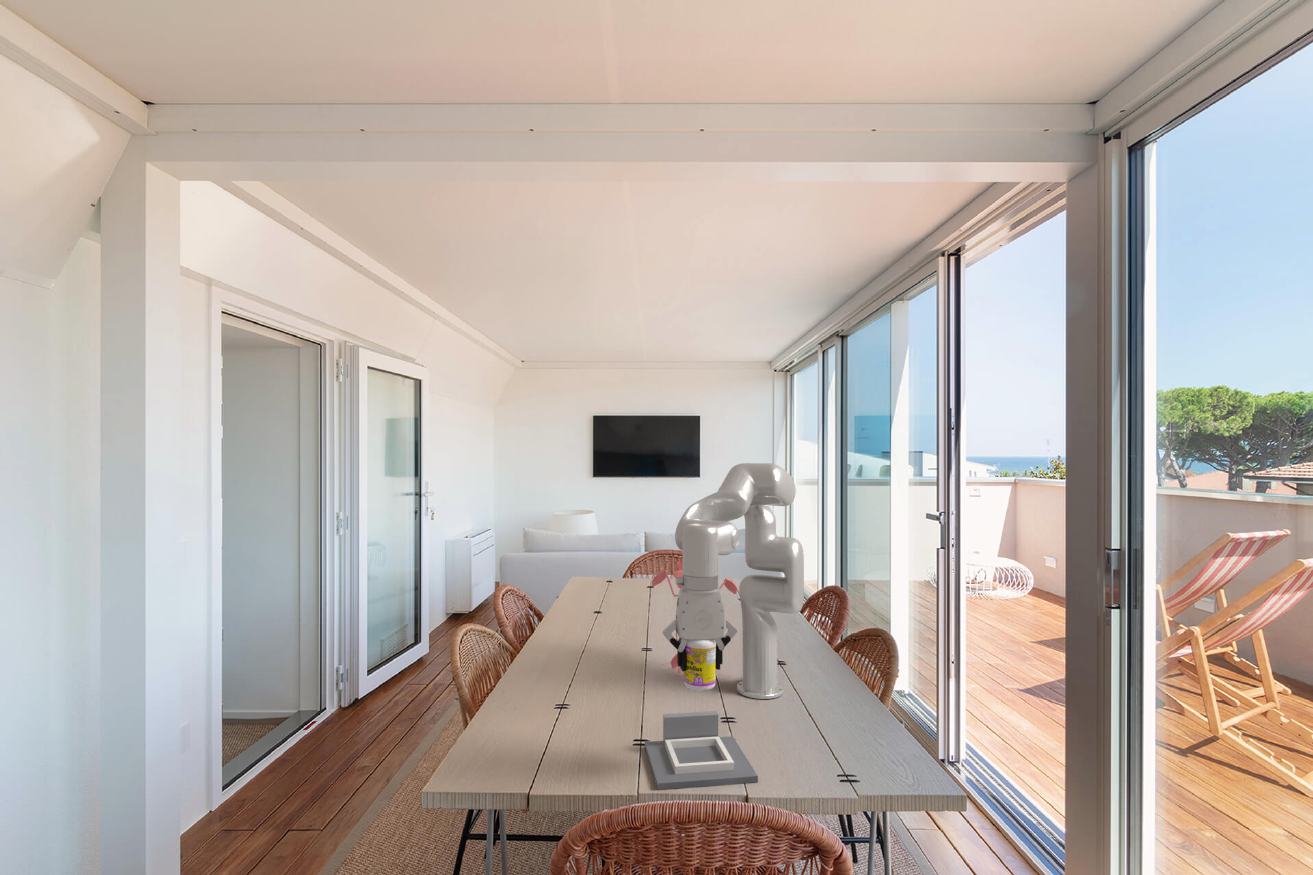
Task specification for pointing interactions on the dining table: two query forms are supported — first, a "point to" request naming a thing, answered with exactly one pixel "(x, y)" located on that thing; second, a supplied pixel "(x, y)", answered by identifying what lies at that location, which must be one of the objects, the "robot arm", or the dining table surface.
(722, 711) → the dining table surface
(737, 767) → the dock
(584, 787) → the dining table surface
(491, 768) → the dining table surface
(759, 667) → the robot arm
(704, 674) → the supplement bottle
